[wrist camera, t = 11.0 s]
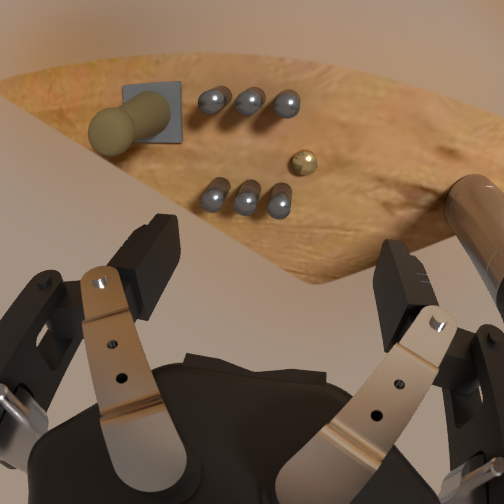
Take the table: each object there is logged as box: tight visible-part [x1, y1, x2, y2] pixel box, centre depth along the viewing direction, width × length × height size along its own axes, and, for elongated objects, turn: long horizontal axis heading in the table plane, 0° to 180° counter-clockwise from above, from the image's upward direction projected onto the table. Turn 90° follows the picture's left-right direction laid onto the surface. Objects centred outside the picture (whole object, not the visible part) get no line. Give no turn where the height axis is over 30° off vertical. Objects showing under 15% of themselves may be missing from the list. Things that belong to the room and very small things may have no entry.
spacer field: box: [198, 86, 300, 219], centre depth 36 cm, size 11×15×5 cm
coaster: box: [123, 81, 183, 143], centre depth 37 cm, size 8×8×1 cm
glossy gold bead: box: [292, 150, 317, 175], centre depth 38 cm, size 3×3×1 cm
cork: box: [88, 91, 171, 156], centre depth 32 cm, size 6×6×11 cm
